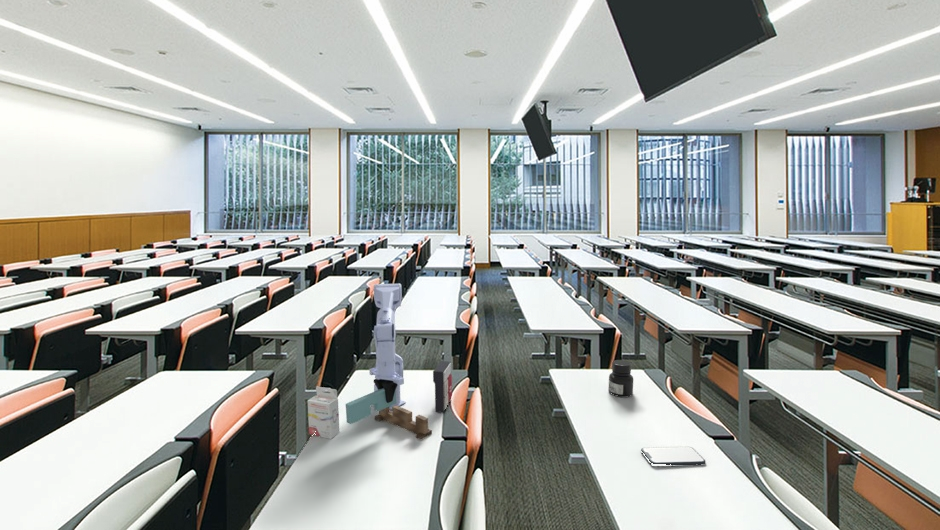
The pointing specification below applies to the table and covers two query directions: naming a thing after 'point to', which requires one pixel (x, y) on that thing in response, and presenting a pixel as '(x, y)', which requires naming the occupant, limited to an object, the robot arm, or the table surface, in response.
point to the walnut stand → (405, 421)
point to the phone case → (673, 455)
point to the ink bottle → (621, 378)
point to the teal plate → (367, 405)
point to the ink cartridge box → (324, 413)
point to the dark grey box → (442, 385)
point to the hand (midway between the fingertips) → (387, 400)
